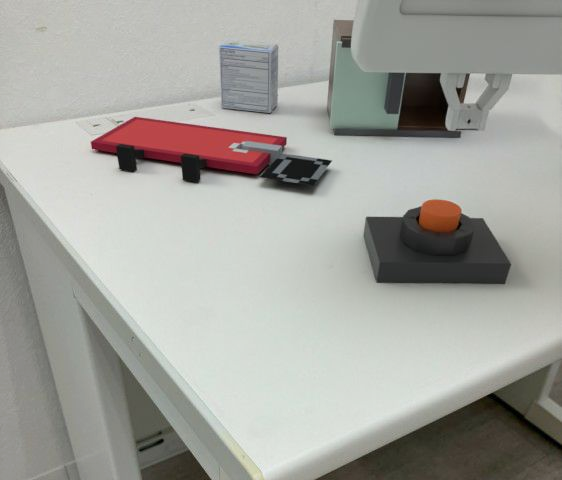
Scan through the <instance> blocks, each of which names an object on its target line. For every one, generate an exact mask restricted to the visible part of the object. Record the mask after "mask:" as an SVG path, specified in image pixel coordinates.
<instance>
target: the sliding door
mask: <svg viewBox="0 0 562 480" xmlns="http://www.w3.org/2000/svg"><path fill="white" fill-rule="evenodd" d="M341 46H342V42H340V41H337V45H336V58H335V70H334V82H333V94H332V106H331V118H330V117H329V120H330V121H329V129H331V130H333V129H334V128H342V129H390V130H397V127H398V121H399V114H400V108H401V101H402V95H403V89H404V82H405V76H406V73H396V72H364V71H362V70H361V69H360V67H359V66H358V65H357V63H356V62H355V60H354V59H353V57H352V54H351V48H342V47H341Z"/></svg>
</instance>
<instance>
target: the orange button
mask: <svg viewBox="0 0 562 480" xmlns="http://www.w3.org/2000/svg"><path fill="white" fill-rule="evenodd" d="M421 206H422V207H421ZM421 206H420V207H421V212H420V217H419V225H420V226H422V227H423V228H425V229H428V230H432V231H436V232H452V231H456V230H457V227H458V223H459V219H460V215H461V213H462V208H461V206H459V205H458V204H457V203H455V202H452V201H449V200H445V199H437V198H436V199H429V200H425V201H424V202H423V203H422V204H421Z"/></svg>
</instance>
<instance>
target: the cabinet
mask: <svg viewBox="0 0 562 480" xmlns="http://www.w3.org/2000/svg"><path fill="white" fill-rule="evenodd" d="M353 23H354V19H333V23H332V36H331V47H330V48H331V49H330V62H329V75H328V88H327V101H326V110H327V114H328V117H329V119H330V118H331V106H332V94H333V82H334V70H335V58H336V45H337V41H340V42H342V46H341V47H342V48H351V37H352V30H353ZM440 76H441V73H406V76H405V82H404V89H403V95H402V101H401V108H400V114H399V121H398V127H397V130H390V129H342V128H334V129H332V131H333V135H334V136H365V137H366V136H368V137H369V136H371V137H372V136H373V137H411V138H412V137H413V138H414V137H416V138H417V137H419V138H420V137H421V138H461V136H462V131H449V130H448V129H447V127H446V124H445V123H446V116H447V111H448V106H449V104H448V103H447V100H446V97H445V94H444V91H443V89H442V86H441V83H440ZM470 76H471V74H470V73H466V76H465V81H464V85H463V87H462V88H457V87H456V91H457V95H458V98H459V101H460V103H465V100H466V94H467V89H468V85H469V81H470Z"/></svg>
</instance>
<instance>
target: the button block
mask: <svg viewBox="0 0 562 480" xmlns="http://www.w3.org/2000/svg"><path fill="white" fill-rule="evenodd" d="M421 207H422V205H421V206H418V207H414V208H410V209H408V210H407V211H406V212H405V213H404V214H403V216H365V221H364V227H363V228H364V229H363V239H364V243H365V247H366V250H367V254H368V257H369V261H370V265H371V268H372V272H373V276H374V278H375V283H377V284H447V285H448V284H449V285H451V284H453V285H455V284H456V285H457V284H458V285H459V284H460V285H463V284H464V285H465V284H466V285H467V284H468V285H505V284H506V282H507V279H508V276H509V273H510V269H511V266H512V262H511V261H510V260H509V257H508V256H507V255H506V253H505V252H504V250H503V248H502V246H501V245H500V244H499V241H498V240H497V238H496V237H495V235H494V233H493V232H492V231H491V228H490V227H489V225H488V224H487V223H486V221H485V219H484V218H483V217H470V216H468V215H466V214H465V213H463V212H461V215H460V219H459V223H458V227H457V230H456V231H452V232H436V231H432V230H428V229H425V228H423V227H422V226H420V225H419V217H420V212H421Z"/></svg>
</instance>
